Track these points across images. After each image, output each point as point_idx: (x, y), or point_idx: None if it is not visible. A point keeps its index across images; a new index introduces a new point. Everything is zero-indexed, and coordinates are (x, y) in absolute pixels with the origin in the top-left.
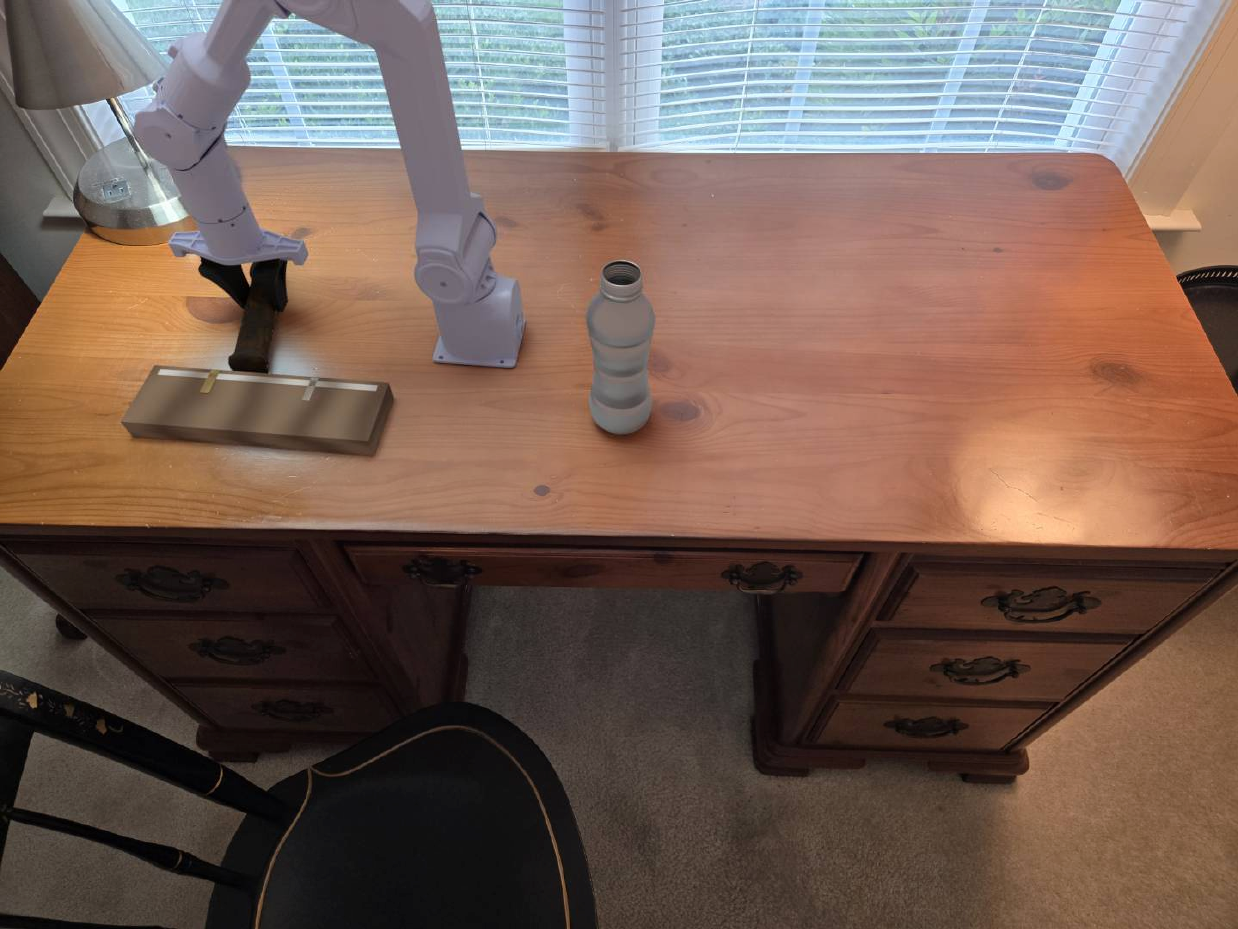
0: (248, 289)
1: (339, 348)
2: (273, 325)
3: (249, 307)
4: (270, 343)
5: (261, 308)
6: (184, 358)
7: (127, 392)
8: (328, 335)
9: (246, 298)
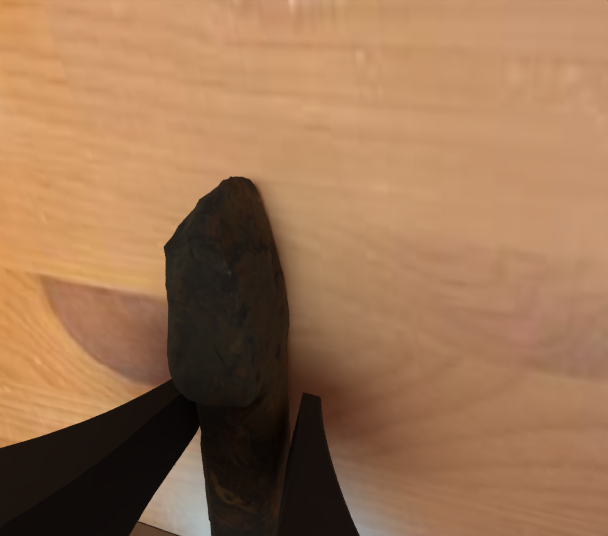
0: None
1: (463, 525)
2: None
3: (219, 501)
4: None
5: (259, 519)
6: None
7: None
8: (433, 480)
9: (195, 414)
